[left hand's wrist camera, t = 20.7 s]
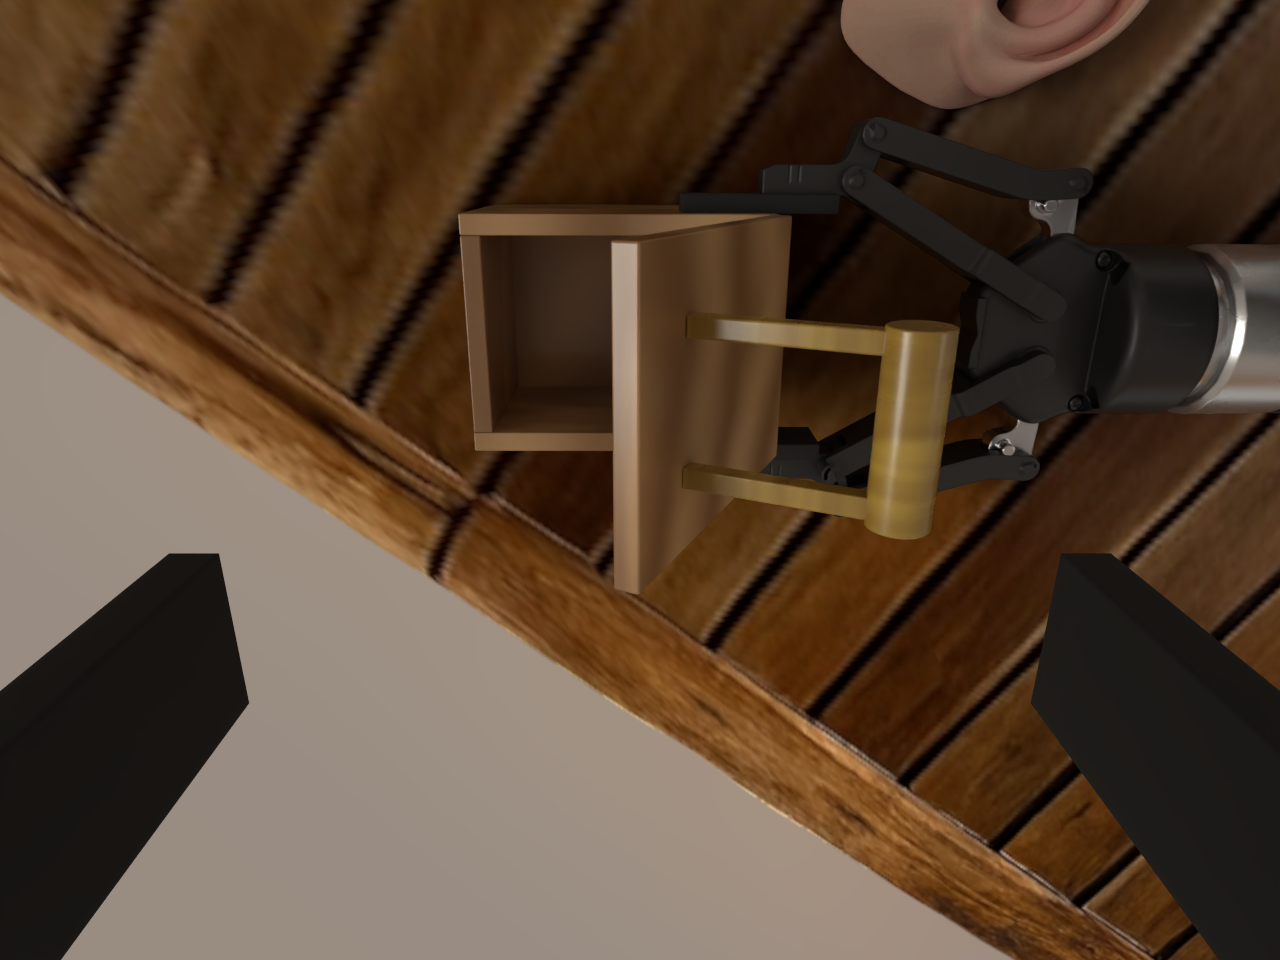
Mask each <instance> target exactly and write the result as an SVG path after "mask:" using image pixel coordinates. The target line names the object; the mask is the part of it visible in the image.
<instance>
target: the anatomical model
mask: <svg viewBox="0 0 1280 960" xmlns="http://www.w3.org/2000/svg"><path fill="white" fill-rule="evenodd" d="M1149 1H1150V0H843V4H842V11H841V28H842V33H843V36H844V38H845V40H846V42H847V44H848V45H849V47H850V48H851V49H852V51H853V52H854V53H855V54H856V55H857V56H858V57H859V58H860V59H861V60H862V61H863V62H864V63H865V64H867V65H868V66H869V67H870V68H872V69H873V70H874V71H876V72H877V73H878V74H879V75H881V76H882V77H883V78H884V79H886V80H887V81H888V82H890V83H891V84H892V85H894V86H895V87H897V88H898V89H900V90H901V91H903V92H905V93H907V94H909V95H911V96H913V97H915V98H917V99H919V100H921V101H923V102H924V103H927V104H929V105H931V106H934V107H938V108H942V109H956V108H962V107H966V106H970V105H973V104H976V103H979V102H981V101H984V100H987V99H989V98H999V97H1003V96H1006V95H1008V94H1011V93H1013V92H1015V91H1017V90H1019V89H1021V88H1023V87H1025V86H1027V85H1029V84H1031V83H1034V82H1036V81H1038V80H1040V79H1042V78H1044V77H1046V76H1049V75H1051V74H1053V73H1055V72H1058V71H1060V70H1062V69H1064V68H1067V67H1069V66H1071V65H1073V64H1075V63H1077V62H1079V61H1081V60H1083V59H1085V58H1087V57H1088V56H1090V55H1092V54H1093V53H1095V52H1097V51H1098V50H1100V49H1101V48H1103V47H1104V46H1105V45H1107V44H1108V43H1110V42H1111V41H1112V40H1113V39H1115V38H1116V37H1117V36H1118V35H1119V34H1120V33H1122V32H1123V31H1124V30H1125V29H1126V28H1127V27H1128V26H1129V25H1130V24H1131V23H1132V22H1133V20H1134V19H1135V18H1136V17H1137V16H1138V15H1139V14H1140V12H1141V11H1142V10H1143V9H1144V7H1145V6H1146V5H1147V3H1148V2H1149Z"/></svg>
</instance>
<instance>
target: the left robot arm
mask: <svg viewBox="0 0 1280 960" xmlns="http://www.w3.org/2000/svg"><path fill="white" fill-rule="evenodd" d="M248 704H249V700H248V696H247V690H246V685H245V681H244V676H243V671H242V666H241V661H240V656H239V651H238V646H237V641H236V636H235V631H234V626H233V621H232V617H231V612H230V606H229V602H228V597H227V592H226V587H225V582H224V577H223V572H222V567H221V562H220V557H219V554H168V555H167V556H166V557H164V558H163V559H162V560H161V561H159V562H158V563H157V564H156V565H155V566H153V567H152V568H151V569H150V570H148V571H147V572H146V573H145V574H143V575H142V576H141V577H140V578H139V579H137V580H136V581H135V582H134V583H132V584H131V585H130V586H129V587H127V588H126V589H125V590H124V591H123V592H121V593H120V594H119V595H118V596H117V597H115V598H114V599H113V600H112V601H110V602H109V603H108V604H107V605H105V606H104V607H103V608H102V609H100V610H99V611H98V612H97V613H96V614H94V615H93V616H92V617H91V618H89V619H88V620H87V621H86V622H85V623H83V624H82V625H81V626H80V627H78V628H77V629H76V630H75V631H73V632H72V633H71V634H70V635H69V636H67V637H66V638H65V639H64V640H62V641H61V642H60V643H59V644H58V645H56V646H55V647H54V648H53V649H51V650H50V651H49V652H48V653H46V654H45V655H44V656H43V657H42V658H40V659H39V660H38V661H37V662H35V663H34V664H33V665H32V666H30V667H29V668H28V669H27V670H26V671H24V672H23V673H22V674H21V675H19V676H18V677H17V678H16V679H15V680H13V681H12V682H11V683H10V684H8V685H7V686H6V687H5V688H3V689H2V690H1V691H0V960H61V959H62V958H63V956H64V955H65V953H66V952H67V951H68V949H69V948H70V947H71V945H72V944H73V942H74V941H75V940H76V939H77V937H78V936H79V934H80V933H81V932H82V930H83V929H84V928H85V926H86V925H87V924H88V922H89V921H90V919H91V918H92V917H93V915H94V914H95V913H96V911H97V910H98V909H99V907H100V906H101V904H102V903H103V902H104V900H105V899H106V898H107V896H108V895H109V894H110V892H111V891H112V889H113V888H114V887H115V885H116V884H117V883H118V881H119V880H120V879H121V877H122V876H123V874H124V873H125V872H126V870H127V869H128V868H129V866H130V865H131V864H132V862H133V861H134V859H135V858H136V857H137V855H138V854H139V853H140V851H141V850H142V849H143V847H144V846H145V844H146V843H147V842H148V840H149V839H150V838H151V836H152V835H153V833H154V832H155V831H156V829H157V828H158V827H159V825H160V824H161V823H162V821H163V820H164V819H165V817H166V816H167V814H168V813H169V812H170V810H171V809H172V808H173V806H174V805H175V804H176V802H177V801H178V799H179V798H180V797H181V795H182V794H183V793H184V791H185V790H186V788H187V787H188V786H189V784H190V783H191V782H192V780H193V779H194V778H195V776H196V775H197V773H198V772H199V771H200V769H201V768H202V767H203V765H204V764H205V763H206V761H207V760H208V758H209V757H210V756H211V754H212V753H213V752H214V750H215V749H216V748H217V746H218V745H219V743H220V742H221V741H222V739H223V738H224V737H225V735H226V734H227V733H228V731H229V730H230V729H231V727H232V726H233V724H234V723H235V722H236V720H237V719H238V718H239V716H240V715H241V713H242V712H243V711H244V709H245V708H246V707H247V705H248ZM1031 704H1032V705H1033V707H1034V708H1035V709H1036V711H1037V712H1038V714H1039V715H1040V716H1041V718H1042V719H1043V720H1044V722H1045V723H1046V724H1047V726H1048V727H1049V729H1050V730H1051V731H1052V733H1053V734H1054V735H1055V737H1056V738H1057V739H1058V741H1059V742H1060V744H1061V745H1062V746H1063V748H1064V749H1065V750H1066V752H1067V753H1068V754H1069V756H1070V757H1071V759H1072V760H1073V761H1074V763H1075V764H1076V765H1077V767H1078V768H1079V769H1080V771H1081V772H1082V774H1083V775H1084V776H1085V778H1086V779H1087V780H1088V782H1089V783H1090V784H1091V786H1092V787H1093V789H1094V790H1095V791H1096V793H1097V794H1098V795H1099V797H1100V798H1101V799H1102V801H1103V802H1104V804H1105V805H1106V806H1107V808H1108V809H1109V810H1110V812H1111V813H1112V814H1113V816H1114V817H1115V819H1116V820H1117V821H1118V823H1119V824H1120V825H1121V827H1122V828H1123V829H1124V831H1125V832H1126V834H1127V835H1128V836H1129V838H1130V839H1131V840H1132V842H1133V843H1134V844H1135V846H1136V847H1137V849H1138V850H1139V851H1140V853H1141V854H1142V855H1143V857H1144V858H1145V859H1146V861H1147V862H1148V864H1149V865H1150V866H1151V868H1152V869H1153V870H1154V872H1155V873H1156V874H1157V876H1158V877H1159V878H1160V880H1161V881H1162V883H1163V884H1164V885H1165V887H1166V888H1167V889H1168V891H1169V892H1170V893H1171V895H1172V896H1173V898H1174V899H1175V900H1176V902H1177V903H1178V904H1179V906H1180V907H1181V908H1182V910H1183V911H1184V913H1185V914H1186V915H1187V917H1188V918H1189V919H1190V921H1191V922H1192V923H1193V925H1194V926H1195V928H1196V929H1197V930H1198V932H1199V933H1200V934H1201V936H1202V937H1203V938H1204V940H1205V941H1206V943H1207V944H1208V945H1209V947H1210V948H1211V949H1212V951H1213V952H1214V953H1215V955H1216V956H1217V958H1218V959H1219V960H1280V691H1279V690H1278V689H1277V688H1275V687H1274V686H1273V685H1272V684H1270V683H1269V682H1268V681H1267V680H1266V679H1264V678H1263V677H1262V676H1261V675H1259V674H1258V673H1257V672H1256V671H1254V670H1253V669H1252V668H1251V667H1250V666H1248V665H1247V664H1246V663H1245V662H1243V661H1242V660H1241V659H1240V658H1238V657H1237V656H1236V655H1235V654H1234V653H1232V652H1231V651H1230V650H1229V649H1227V648H1226V647H1225V646H1224V645H1223V644H1221V643H1220V642H1219V641H1218V640H1216V639H1215V638H1214V637H1213V636H1211V635H1210V634H1209V633H1208V632H1207V631H1205V630H1204V629H1203V628H1202V627H1200V626H1199V625H1198V624H1197V623H1196V622H1194V621H1193V620H1192V619H1191V618H1189V617H1188V616H1187V615H1186V614H1184V613H1183V612H1182V611H1181V610H1180V609H1178V608H1177V607H1176V606H1175V605H1173V604H1172V603H1171V602H1170V601H1168V600H1167V599H1166V598H1165V597H1164V596H1162V595H1161V594H1160V593H1159V592H1157V591H1156V590H1155V589H1154V588H1153V587H1151V586H1150V585H1149V584H1148V583H1146V582H1145V581H1144V580H1143V579H1141V578H1140V577H1139V576H1138V575H1137V574H1135V573H1134V572H1133V571H1132V570H1130V569H1129V568H1128V567H1127V566H1126V565H1124V564H1123V563H1122V562H1121V561H1119V560H1118V559H1117V558H1116V557H1114V556H1113V555H1112V554H1061V557H1060V562H1059V567H1058V572H1057V577H1056V582H1055V587H1054V592H1053V597H1052V602H1051V607H1050V611H1049V616H1048V621H1047V626H1046V631H1045V636H1044V641H1043V646H1042V651H1041V656H1040V661H1039V666H1038V671H1037V676H1036V681H1035V686H1034V690H1033V695H1032V700H1031Z"/></svg>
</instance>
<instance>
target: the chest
mask: <svg viewBox="0 0 1280 960" xmlns="http://www.w3.org/2000/svg"><path fill="white" fill-rule="evenodd" d="M769 215H779V214H776V213H681V212H680V211H679V205H521V204H496V205H492V206H488V207H484V208H480V209H476V210H472V211H468V212H464V213H460V214H458V219H459V233H460V235H461V236H460V246H461V260H462V273H463V287H464V301H465V314H466V328H467V342H468V356H469V369H470V383H471V397H472V410H473V424H474V432H475V433H474V439H475V450H476V451H613V407H612V305H611V241H612V240H616V239H622V238H628V237H635V236H641V235H648V234H654V233H660V232H667V231H673V230H680V229H686V228H692V227H699V226H705V225H712V224H718V223H724V222H731V221H737V220H744V219H750V218H756V217H763V216H769Z"/></svg>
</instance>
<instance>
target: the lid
mask: <svg viewBox="0 0 1280 960" xmlns="http://www.w3.org/2000/svg"><path fill="white" fill-rule="evenodd" d="M791 225H792V216H790V215H769V216H763V217H756V218H750V219H744V220H737V221H731V222H724V223H718V224H712V225H705V226H699V227H692V228H686V229H680V230H673V231H667V232H660V233H654V234H648V235H641V236H635V237H628V238H622V239H616V240H612V241H611V305H612V407H613V510H614V588H615V589H616V590H621V591H625V592H629V593H633V594H640V593H641V592H642V591H643V590H644V589H645V588H646V587H647V586H648V585H649V584H650V583H651V582H652V581H653V580H654V579H655V578H656V577H657V576H658V575H659V574H660V573H661V572H662V571H663V570H664V569H665V568H666V567H667V566H668V565H669V564H670V563H671V562H672V561H673V560H674V559H675V558H676V557H677V555H678V554H679V553H680V552H681V551H682V550H683V549H684V548H685V547H686V546H687V545H688V544H689V543H690V542H691V541H692V540H693V539H694V538H695V537H696V536H697V535H698V534H699V533H700V532H701V531H702V530H703V529H704V528H705V527H706V526H707V525H708V524H709V523H710V522H711V521H712V520H713V519H714V518H715V517H716V516H717V515H718V514H719V513H720V512H721V511H722V510H723V509H724V508H725V507H726V506H727V505H728V504H729V503H730V502H731V501H732V500H733V499H734V498H741V499H747V500H752V501H758V502H764V503H770V504H775V505H781V506H787V507H793V508H798V509H804V510H810V511H816V512H821V513H827V514H833V515H839V516H845V517H850V518H856V519H862V520H864V524H865V526H866V527H867V528H868V529H869V530H870V531H872V532H874V533H876V534H879V535H882V536H885V537H889V538H895V539H918V538H922V537H925V536H927V535H928V534H929V533H930V532H931V529H932V522H933V515H934V508H935V501H936V494H937V487H938V480H939V472H940V465H941V458H942V451H943V444H944V437H945V430H946V423H947V416H948V409H949V402H950V395H951V388H952V381H953V374H954V367H955V360H956V353H957V346H958V338H959V331H960V330H959V327H957V326H955V325H952V324H948V323H944V322H937V321H927V320H898V321H892V322H889V323H886V325H885V327H883V326H870V325H857V324H845V323H832V322H819V321H806V320H794V319H785V316H786V301H787V286H788V271H789V255H790V240H791ZM783 347H789V348H800V349H811V350H822V351H833V352H843V353H854V354H865V355H876V356H882V358H881V367H880V376H879V385H878V394H877V404H876V413H875V422H874V431H873V440H872V449H871V459H870V468H869V477H868V486H867V490H863V489H856V488H850V487H844V486H838V485H831V484H825V483H819V482H812V481H806V480H800V479H793V478H787V477H781V476H775V475H768V474H762V473H760V472H761V471H762V470H763V469H764V468H765V467H766V466H767V465H768V464H769V463H770V462H771V461H772V460H773V459H774V458H775V457H776V454H777V438H778V423H779V408H780V393H781V377H782V362H783Z"/></svg>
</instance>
